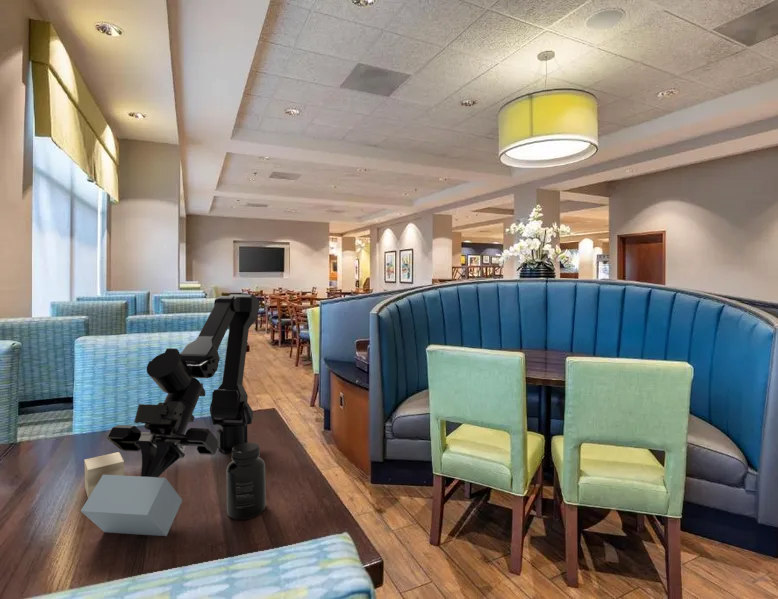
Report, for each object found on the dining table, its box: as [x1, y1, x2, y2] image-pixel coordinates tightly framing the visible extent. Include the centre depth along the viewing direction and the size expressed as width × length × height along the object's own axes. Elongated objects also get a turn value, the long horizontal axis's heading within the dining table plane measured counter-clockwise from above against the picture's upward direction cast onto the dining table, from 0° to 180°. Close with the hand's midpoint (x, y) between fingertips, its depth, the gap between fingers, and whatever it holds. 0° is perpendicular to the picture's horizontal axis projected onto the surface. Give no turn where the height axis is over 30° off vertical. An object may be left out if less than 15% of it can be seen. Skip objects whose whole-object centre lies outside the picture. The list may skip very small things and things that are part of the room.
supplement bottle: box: [225, 442, 267, 521], centre depth 79 cm, size 7×7×12 cm
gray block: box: [80, 475, 183, 537], centre depth 71 cm, size 6×11×8 cm
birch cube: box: [83, 451, 125, 499], centre depth 86 cm, size 6×6×6 cm
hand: (143, 487), depth 74 cm, fingers closed
